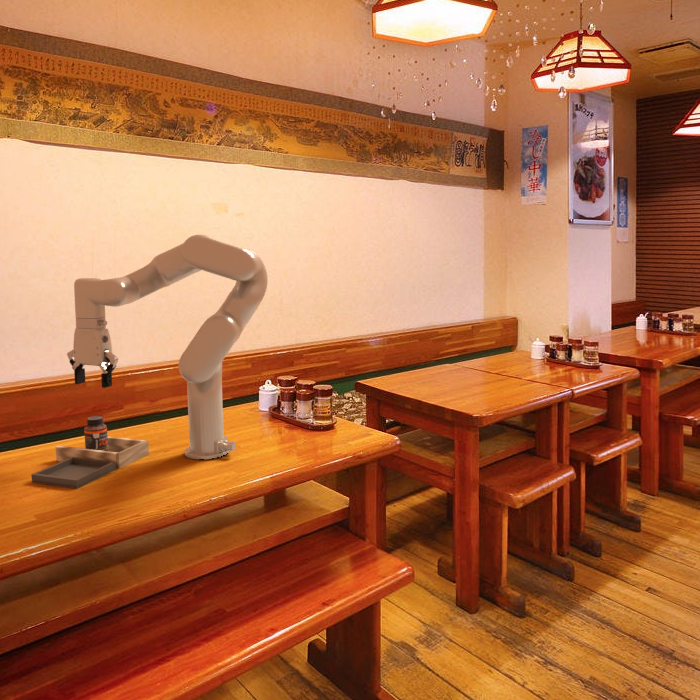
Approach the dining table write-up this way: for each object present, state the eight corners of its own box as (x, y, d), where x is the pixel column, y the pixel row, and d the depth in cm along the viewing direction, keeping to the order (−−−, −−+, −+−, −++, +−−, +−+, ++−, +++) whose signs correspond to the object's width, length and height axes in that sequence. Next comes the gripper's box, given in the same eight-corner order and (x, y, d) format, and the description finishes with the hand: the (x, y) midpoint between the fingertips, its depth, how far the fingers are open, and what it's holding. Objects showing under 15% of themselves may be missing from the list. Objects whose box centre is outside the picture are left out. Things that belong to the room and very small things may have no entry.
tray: (116, 469, 163) (115, 461, 162) (77, 488, 150) (76, 480, 149) (73, 464, 167) (72, 456, 167) (32, 482, 154) (31, 474, 154)
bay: (148, 454, 175) (148, 440, 174) (119, 468, 163) (118, 454, 163) (88, 447, 182) (87, 434, 181) (56, 460, 170) (55, 446, 169)
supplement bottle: (103, 460, 170) (100, 420, 168) (82, 460, 170) (79, 420, 168) (112, 453, 176) (109, 414, 174) (91, 453, 176) (88, 415, 174)
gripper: (125, 324, 168) (127, 385, 171) (77, 320, 175) (80, 379, 178) (105, 327, 162) (107, 391, 164) (56, 323, 168) (59, 384, 171)
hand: (93, 385), depth 171 cm, fingers open, 9 cm apart
